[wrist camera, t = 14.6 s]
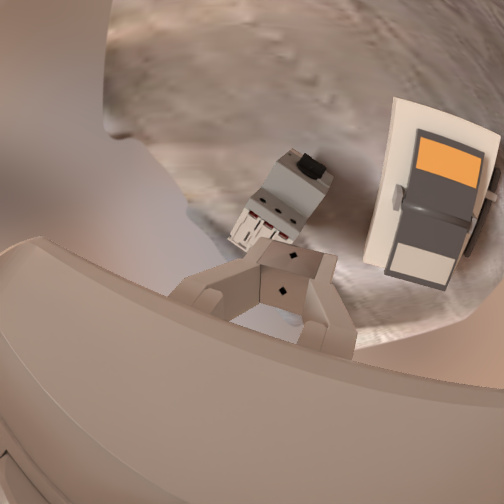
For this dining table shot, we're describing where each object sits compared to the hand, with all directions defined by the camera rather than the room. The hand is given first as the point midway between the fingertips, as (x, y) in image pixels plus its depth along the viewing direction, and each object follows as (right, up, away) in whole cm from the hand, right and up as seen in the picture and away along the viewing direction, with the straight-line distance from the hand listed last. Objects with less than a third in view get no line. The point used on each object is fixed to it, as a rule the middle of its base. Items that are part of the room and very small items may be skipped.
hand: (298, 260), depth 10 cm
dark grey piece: (+36, +8, +22) cm, 43 cm away
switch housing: (+26, +10, +26) cm, 38 cm away
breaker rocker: (+22, +5, +19) cm, 29 cm away
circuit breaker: (+7, +13, +35) cm, 38 cm away
